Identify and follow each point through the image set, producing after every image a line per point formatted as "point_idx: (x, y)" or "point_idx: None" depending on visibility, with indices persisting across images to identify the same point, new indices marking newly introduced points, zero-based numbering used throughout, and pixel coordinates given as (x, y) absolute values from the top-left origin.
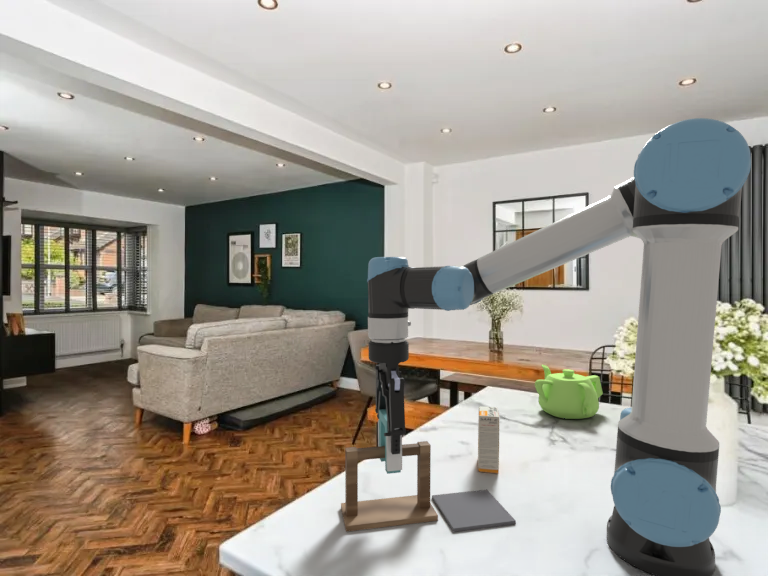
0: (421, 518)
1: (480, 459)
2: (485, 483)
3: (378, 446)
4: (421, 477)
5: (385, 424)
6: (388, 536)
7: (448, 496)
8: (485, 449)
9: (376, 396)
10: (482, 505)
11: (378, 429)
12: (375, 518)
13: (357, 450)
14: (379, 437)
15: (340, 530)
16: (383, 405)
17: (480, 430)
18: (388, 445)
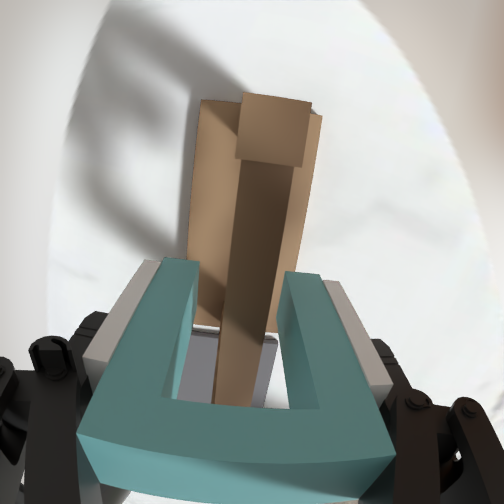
0: None
1: None
2: None
3: (340, 296)
4: (217, 352)
5: (134, 411)
6: (154, 194)
7: (259, 369)
8: None
9: (499, 488)
10: (205, 401)
11: (361, 349)
12: (212, 182)
13: (260, 164)
14: (338, 326)
15: (214, 88)
16: (379, 500)
17: (343, 502)
18: (105, 324)
